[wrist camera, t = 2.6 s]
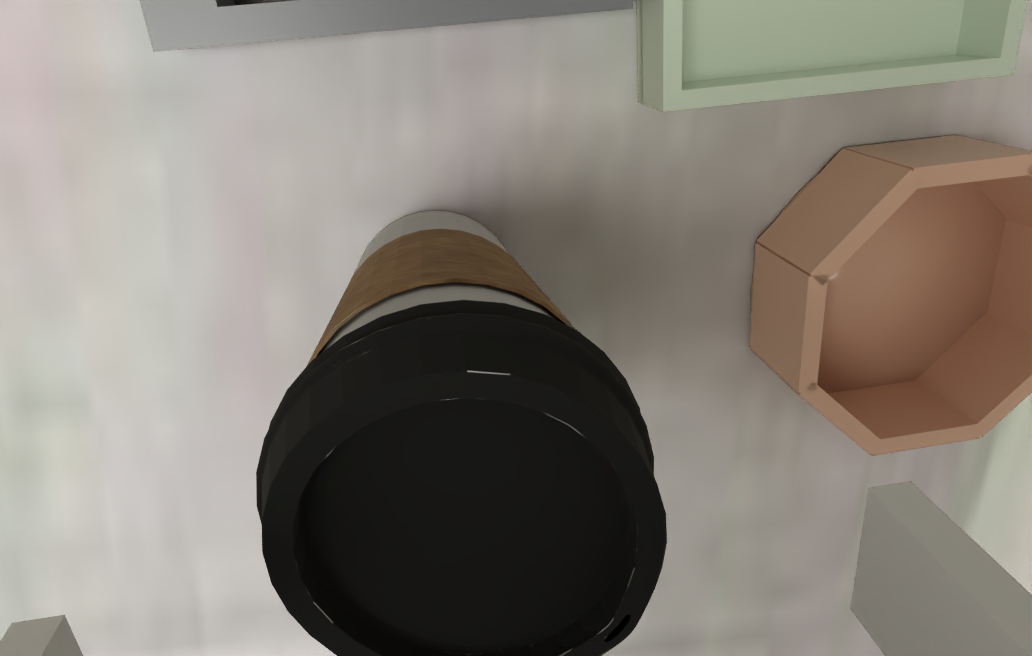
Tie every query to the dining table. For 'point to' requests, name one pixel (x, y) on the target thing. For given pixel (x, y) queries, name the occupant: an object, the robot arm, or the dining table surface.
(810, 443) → the dining table surface
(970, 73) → the green square tray
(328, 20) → the frame
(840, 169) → the bin
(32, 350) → the dining table surface
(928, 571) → the robot arm
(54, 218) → the dining table surface
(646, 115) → the dining table surface
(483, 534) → the coffee cup
